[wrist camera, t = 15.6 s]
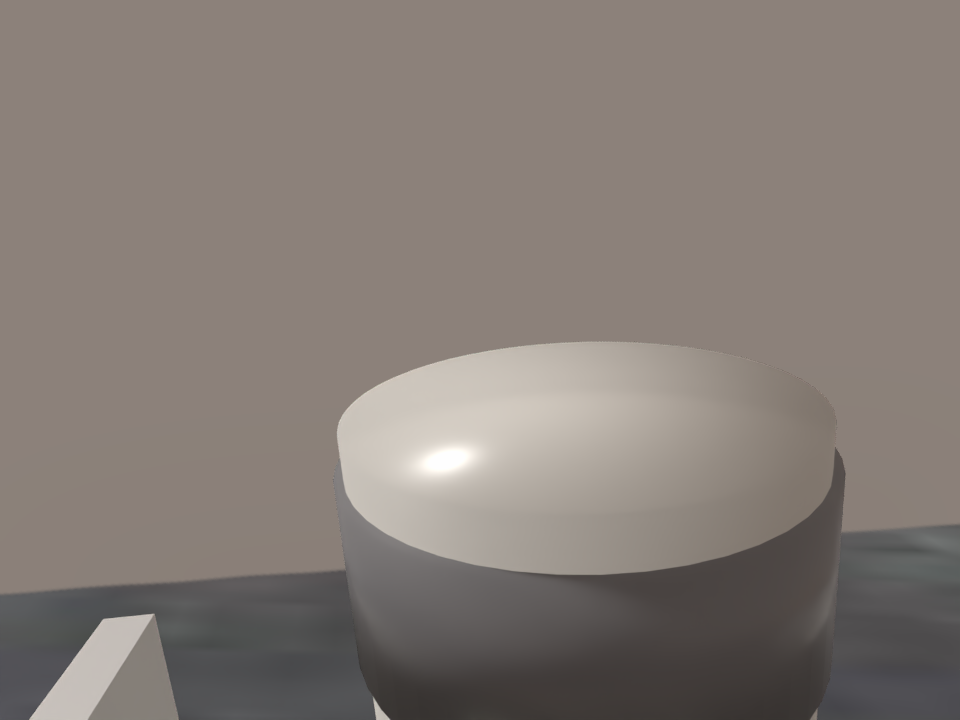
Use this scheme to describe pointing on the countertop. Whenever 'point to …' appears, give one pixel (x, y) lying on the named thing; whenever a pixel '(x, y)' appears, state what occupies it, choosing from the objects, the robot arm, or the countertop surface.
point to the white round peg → (592, 536)
